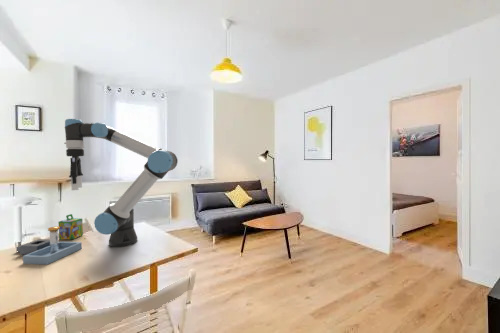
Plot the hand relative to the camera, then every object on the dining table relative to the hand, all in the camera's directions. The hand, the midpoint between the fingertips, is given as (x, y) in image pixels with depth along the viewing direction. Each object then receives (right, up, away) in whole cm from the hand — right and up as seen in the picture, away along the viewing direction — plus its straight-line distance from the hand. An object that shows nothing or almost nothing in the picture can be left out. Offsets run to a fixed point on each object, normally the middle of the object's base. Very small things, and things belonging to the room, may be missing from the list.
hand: (77, 188), depth 126 cm
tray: (-10, -35, -3) cm, 36 cm away
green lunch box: (-23, -34, +26) cm, 49 cm away
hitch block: (-26, -35, +3) cm, 44 cm away
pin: (-10, -34, -3) cm, 35 cm away
